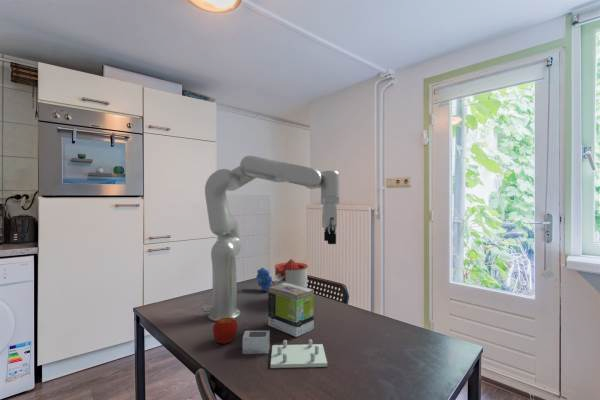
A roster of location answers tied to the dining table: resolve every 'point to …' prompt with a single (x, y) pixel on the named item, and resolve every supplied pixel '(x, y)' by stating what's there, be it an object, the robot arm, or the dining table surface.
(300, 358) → the white peg board
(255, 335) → the block
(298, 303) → the tea box
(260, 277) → the grapes
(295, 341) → the dining table surface
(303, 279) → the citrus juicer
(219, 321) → the apple
